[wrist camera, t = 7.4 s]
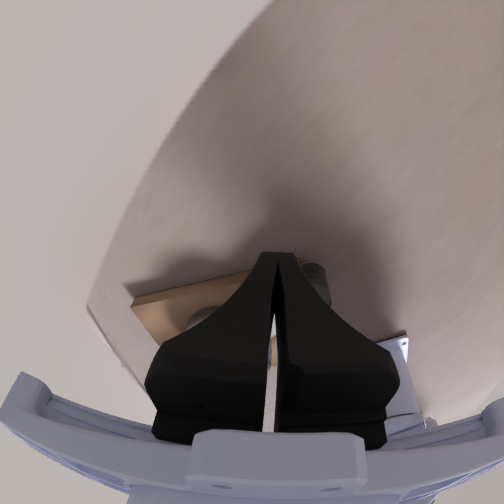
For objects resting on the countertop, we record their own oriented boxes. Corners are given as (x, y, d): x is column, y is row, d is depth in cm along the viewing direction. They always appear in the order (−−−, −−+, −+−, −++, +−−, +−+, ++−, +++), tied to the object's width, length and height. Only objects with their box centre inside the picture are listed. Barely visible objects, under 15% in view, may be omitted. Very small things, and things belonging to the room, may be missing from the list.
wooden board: (324, 345, 28) (325, 357, 26) (187, 365, 32) (183, 376, 30) (298, 257, 23) (299, 269, 21) (135, 297, 26) (129, 308, 25)
